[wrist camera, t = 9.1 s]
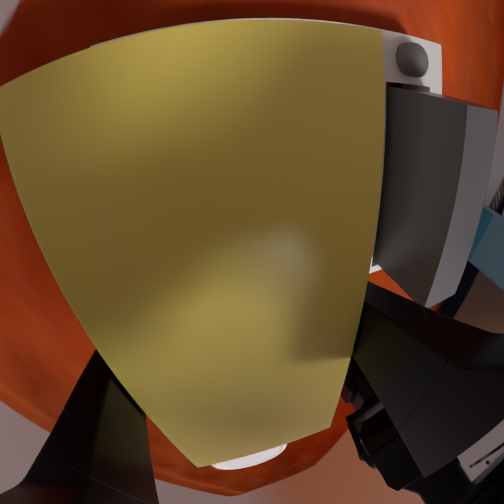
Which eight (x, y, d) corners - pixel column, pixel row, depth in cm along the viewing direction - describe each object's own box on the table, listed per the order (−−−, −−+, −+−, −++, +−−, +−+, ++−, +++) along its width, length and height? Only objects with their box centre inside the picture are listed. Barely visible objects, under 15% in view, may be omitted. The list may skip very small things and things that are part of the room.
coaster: (286, 430, 36) (295, 450, 33) (222, 454, 36) (228, 474, 33) (266, 407, 30) (276, 433, 28) (188, 436, 30) (195, 461, 27)
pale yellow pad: (289, 43, 7) (381, 30, 4) (297, 364, 15) (329, 427, 12) (64, 84, 6) (-8, 91, 2) (181, 397, 14) (197, 467, 10)
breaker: (423, 90, 13) (497, 110, 9) (405, 249, 19) (454, 293, 15) (386, 86, 13) (467, 104, 8) (372, 259, 19) (423, 310, 15)
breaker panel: (412, 43, 13) (448, 45, 11) (399, 238, 22) (424, 259, 19) (101, 52, 10) (86, 44, 8) (165, 303, 18) (170, 339, 16)
